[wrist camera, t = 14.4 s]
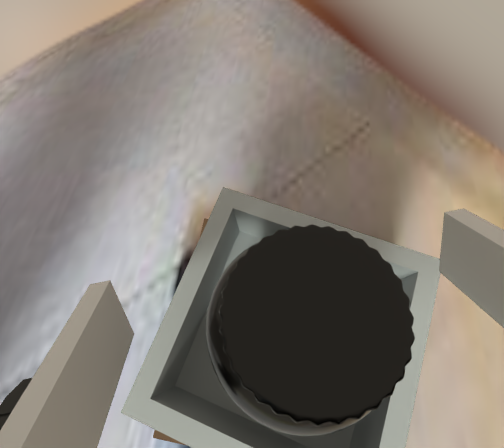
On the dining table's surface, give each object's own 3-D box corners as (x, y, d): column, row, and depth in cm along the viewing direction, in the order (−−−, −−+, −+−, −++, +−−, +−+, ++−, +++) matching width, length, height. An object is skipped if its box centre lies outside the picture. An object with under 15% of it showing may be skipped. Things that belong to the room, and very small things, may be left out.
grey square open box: (160, 392, 20) (120, 412, 14) (233, 220, 23) (223, 187, 18) (351, 481, 18) (386, 543, 12) (400, 278, 21) (443, 260, 16)
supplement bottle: (348, 403, 17) (485, 517, 6) (225, 389, 18) (146, 470, 7) (346, 278, 20) (445, 196, 8) (238, 270, 20) (195, 183, 9)
